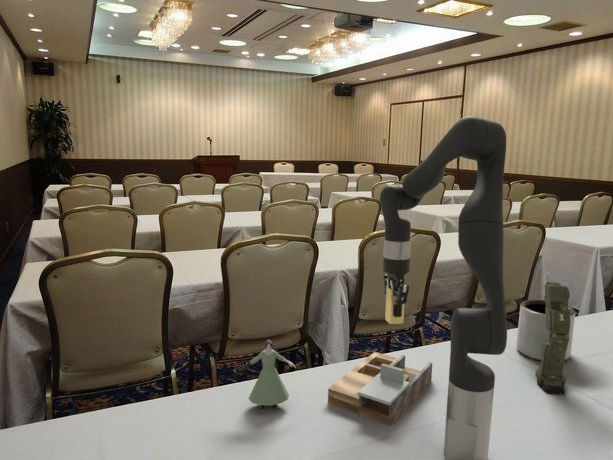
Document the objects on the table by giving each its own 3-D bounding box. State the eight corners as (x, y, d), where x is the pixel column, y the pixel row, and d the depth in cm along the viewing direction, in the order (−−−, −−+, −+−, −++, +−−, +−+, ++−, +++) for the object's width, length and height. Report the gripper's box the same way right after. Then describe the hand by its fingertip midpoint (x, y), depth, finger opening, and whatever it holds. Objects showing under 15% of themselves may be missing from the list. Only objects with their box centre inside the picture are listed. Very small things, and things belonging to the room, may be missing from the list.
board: (391, 425, 120) (392, 404, 119) (327, 402, 130) (328, 383, 129) (431, 380, 142) (432, 362, 141) (374, 364, 152) (374, 347, 151)
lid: (389, 405, 118) (390, 388, 117) (357, 394, 123) (358, 378, 122) (409, 385, 128) (410, 369, 127) (379, 375, 132) (379, 360, 132)
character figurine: (234, 418, 122) (233, 349, 118) (233, 401, 130) (232, 336, 126) (298, 412, 125) (299, 345, 121) (293, 396, 133) (293, 332, 129)
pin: (390, 324, 141) (391, 290, 139) (385, 319, 145) (386, 286, 143) (403, 323, 142) (405, 289, 140) (398, 318, 146) (399, 285, 144)
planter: (580, 364, 153) (586, 316, 150) (527, 363, 153) (532, 315, 150) (556, 343, 169) (560, 299, 166) (508, 342, 169) (512, 298, 166)
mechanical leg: (574, 399, 131) (577, 285, 132) (544, 396, 132) (548, 283, 134) (558, 386, 144) (561, 282, 146) (531, 383, 146) (535, 281, 147)
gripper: (419, 260, 134) (416, 321, 137) (399, 250, 148) (397, 305, 151) (393, 261, 133) (391, 323, 135) (375, 251, 146) (373, 307, 149)
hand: (394, 313), depth 143 cm, fingers closed on pin, 4 cm apart
